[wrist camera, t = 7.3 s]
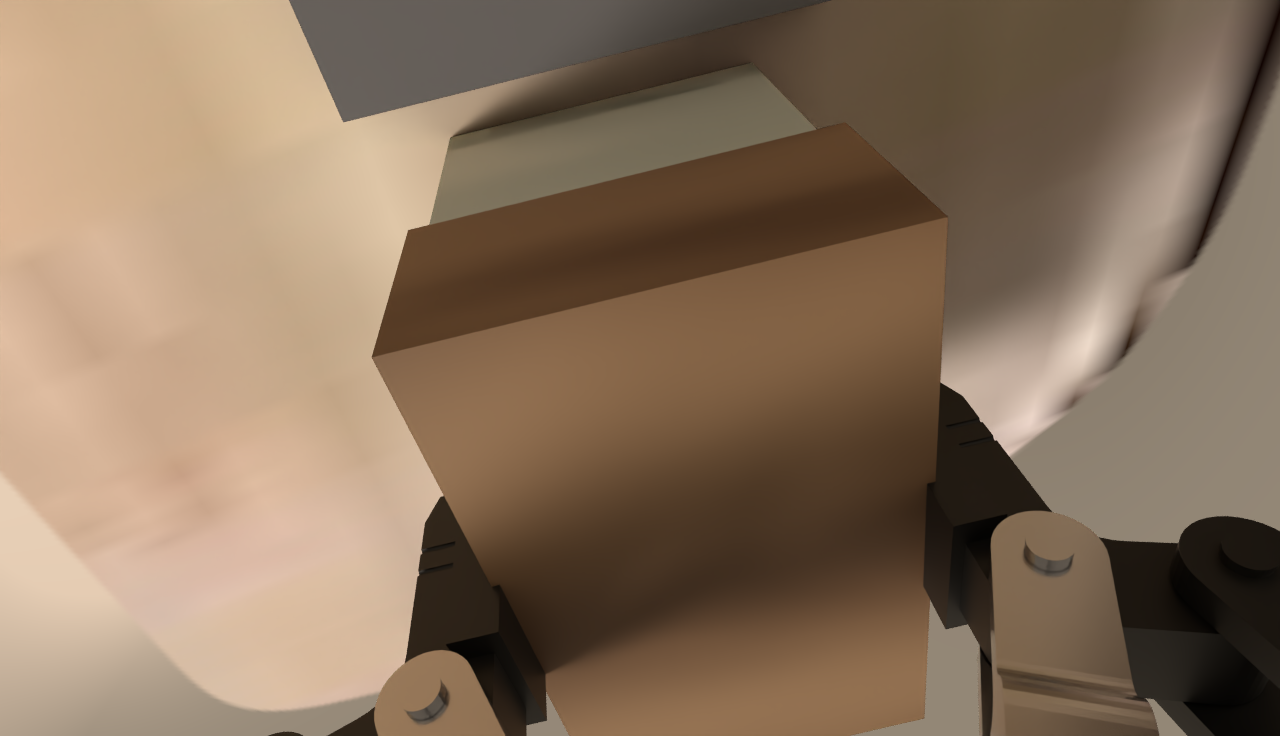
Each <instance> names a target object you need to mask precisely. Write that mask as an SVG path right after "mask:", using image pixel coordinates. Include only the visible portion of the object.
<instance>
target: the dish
mask: <svg viewBox="0 0 1280 736" xmlns="http://www.w3.org/2000/svg"><path fill="white" fill-rule="evenodd" d="M812 130H816V128H815V127H814V126H813V125H812V124H811V123H810V122H809V121H808V120H807V119H806V118H805V117H804V116H803V115H802V114H801V113H800V112H799V111H798V109H797V108H796V107H795V106H794V105H793V104H792V103H791V102H790V101H789V100H788V99H787V98H786V97H785V96H784V95H783V94H782V93H781V92H780V91H779V90H778V89H777V88H776V87H775V86H774V85H773V84H772V83H771V82H770V81H769V80H768V79H767V78H766V77H765V75H764V74H763V73H762V72H761V71H760V70H759V69H758V68H757V67H756V66H755V65H754V64H753V63H748V64H744V65H740V66H736V67H732V68H728V69H724V70H720V71H716V72H712V73H708V74H704V75H700V76H696V77H692V78H688V79H684V80H680V81H676V82H672V83H668V84H664V85H660V86H656V87H652V88H648V89H644V90H640V91H636V92H632V93H628V94H624V95H620V96H616V97H612V98H608V99H604V100H599V101H595V102H591V103H587V104H583V105H579V106H575V107H571V108H567V109H563V110H559V111H555V112H551V113H547V114H543V115H539V116H535V117H531V118H527V119H523V120H519V121H515V122H511V123H507V124H503V125H499V126H495V127H491V128H487V129H483V130H479V131H475V132H471V133H467V134H463V135H459V136H455V137H451V138H450V141H449V145H448V150H447V154H446V158H445V162H444V166H443V170H442V175H441V179H440V183H439V187H438V191H437V195H436V199H435V204H434V208H433V212H432V216H431V220H430V224H429V225H431V224H436V223H440V222H444V221H448V220H452V219H456V218H460V217H464V216H468V215H472V214H476V213H480V212H484V211H488V210H492V209H496V208H500V207H504V206H508V205H513V204H517V203H521V202H525V201H529V200H533V199H537V198H541V197H545V196H549V195H553V194H557V193H561V192H565V191H569V190H573V189H577V188H581V187H585V186H590V185H594V184H598V183H602V182H606V181H610V180H614V179H618V178H622V177H626V176H630V175H634V174H638V173H642V172H646V171H650V170H654V169H658V168H662V167H667V166H671V165H675V164H679V163H683V162H687V161H691V160H695V159H699V158H703V157H707V156H711V155H715V154H719V153H723V152H727V151H731V150H735V149H739V148H744V147H748V146H752V145H756V144H760V143H764V142H768V141H772V140H776V139H780V138H784V137H788V136H792V135H796V134H800V133H804V132H808V131H812Z"/></svg>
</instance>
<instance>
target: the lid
mask: <svg viewBox="0 0 1280 736" xmlns="http://www.w3.org/2000/svg"><path fill="white" fill-rule="evenodd" d="M947 229H948V216H946V215H945V214H944V213H943V212H942V211H941V210H940V209H939V208H938V207H937V206H936V205H934V204H933V203H932V202H931V201H930V200H929V199H928V198H927V197H926V196H925V195H924V194H923V193H921V192H920V191H919V190H918V189H917V188H916V187H915V186H914V185H913V184H912V183H911V182H910V181H908V180H907V179H906V178H905V177H904V176H903V175H902V174H901V173H900V172H899V171H898V170H896V169H895V168H894V167H893V166H892V165H891V164H890V163H889V162H888V161H887V160H886V159H885V158H883V157H882V156H881V155H880V154H879V153H878V152H877V151H876V150H875V149H874V148H873V147H872V146H870V145H869V144H868V143H867V142H866V141H865V140H864V139H863V138H862V137H861V136H860V135H858V134H857V133H856V132H855V131H854V130H853V129H852V128H851V127H850V126H849V125H848V124H847V123H841V124H837V125H833V126H829V127H825V128H821V129H816V130H812V131H808V132H804V133H800V134H796V135H792V136H788V137H784V138H780V139H776V140H772V141H768V142H764V143H760V144H756V145H752V146H748V147H744V148H739V149H735V150H731V151H727V152H723V153H719V154H715V155H711V156H707V157H703V158H699V159H695V160H691V161H687V162H683V163H679V164H675V165H671V166H667V167H662V168H658V169H654V170H650V171H646V172H642V173H638V174H634V175H630V176H626V177H622V178H618V179H614V180H610V181H606V182H602V183H598V184H594V185H590V186H585V187H581V188H577V189H573V190H569V191H565V192H561V193H557V194H553V195H549V196H545V197H541V198H537V199H533V200H529V201H525V202H521V203H517V204H513V205H508V206H504V207H500V208H496V209H492V210H488V211H484V212H480V213H476V214H472V215H468V216H464V217H460V218H456V219H452V220H448V221H444V222H440V223H436V224H431V225H427V226H423V227H419V228H415V229H411V230H408V233H407V236H406V240H405V243H404V247H403V250H402V254H401V257H400V261H399V264H398V268H397V271H396V275H395V278H394V282H393V285H392V289H391V292H390V296H389V299H388V303H387V306H386V309H385V313H384V316H383V320H382V323H381V327H380V330H379V334H378V337H377V341H376V344H375V348H374V351H373V355H372V359H373V361H374V363H375V365H376V367H377V368H378V370H379V372H380V374H381V376H382V378H383V380H384V382H385V384H386V386H387V388H388V389H389V391H390V393H391V395H392V397H393V399H394V401H395V403H396V405H397V407H398V409H399V411H400V412H401V414H402V416H403V418H404V420H405V422H406V424H407V426H408V428H409V430H410V432H411V434H412V435H413V437H414V439H415V441H416V443H417V445H418V447H419V449H420V451H421V453H422V455H423V457H424V458H425V460H426V462H427V464H428V466H429V468H430V470H431V472H432V474H433V476H434V478H435V479H436V481H437V483H438V485H439V487H440V489H441V491H442V493H443V495H444V497H445V499H446V501H447V502H448V504H449V506H450V508H451V510H452V512H453V514H454V516H455V518H456V520H457V522H458V524H459V525H460V527H461V529H462V531H463V533H464V535H465V537H466V539H467V541H468V543H469V545H470V546H471V548H472V550H473V552H474V554H475V556H476V558H477V560H478V562H479V564H480V566H481V568H482V569H483V571H484V573H485V575H486V577H487V579H488V581H489V583H490V585H491V587H492V586H497V585H500V586H501V588H502V590H503V592H504V594H505V596H506V598H507V600H508V602H509V604H510V606H511V608H512V609H513V611H514V613H515V615H516V617H517V619H518V621H519V623H520V625H521V627H522V629H523V631H524V633H525V635H526V637H527V639H528V641H529V643H530V645H531V647H532V649H533V651H534V653H535V655H536V657H537V658H538V660H539V662H540V664H541V666H542V668H543V670H544V672H545V674H546V692H547V694H548V696H549V698H550V700H551V701H552V703H553V705H554V707H555V709H556V711H557V713H558V715H559V717H560V718H561V721H562V723H563V725H564V726H565V728H566V730H567V732H568V734H569V736H850V735H854V734H859V733H863V732H868V731H872V730H876V729H881V728H885V727H889V726H894V725H898V724H902V723H907V722H911V721H915V720H920V719H924V714H925V692H926V671H927V650H928V629H929V608H930V598H929V596H928V594H927V592H926V590H925V589H924V587H923V575H924V549H925V522H926V496H927V483H932V482H936V461H937V440H938V418H939V397H940V376H941V355H942V334H943V313H944V292H945V271H946V250H947Z"/></svg>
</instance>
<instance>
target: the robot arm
mask: <svg viewBox="0 0 1280 736" xmlns="http://www.w3.org/2000/svg"><path fill="white" fill-rule="evenodd" d="M421 550H422V554H421V556H420V563H419V570H418V571H419V576H418V577H417V584H416V591H415V599H414V606H413V613H412V620H411V627H410V634H409V641H408V648H407V655H406V660H405V664H403V665H402V666H401V667H400V668H399V669H398V670H396V671H395V672H394V673H393V675H392V676H391V677H390V678H389V679H388V680H387V682H386V683H385V685H384V686H383V688H382V690H381V692H380V694H379V696H378V699H377V702H376V705H375V707H374V708H373V709H371V710H370V711H369V712H368V713H366V714H365V715H363V716H361V717H360V718H358V719H357V720H355V721H353V722H351V723H350V724H348V725H346V726H344V727H342V728H341V729H339V730H337V731H335V732H333V733H331V734H330V735H328V736H526V725H529V724H534V723H538V722H543V721H547V713H546V712H547V711H546V674H545V672H544V670H543V668H542V666H541V664H540V662H539V660H538V658H537V657H536V655H535V653H534V651H533V649H532V647H531V645H530V643H529V641H528V639H527V637H526V635H525V633H524V631H523V629H522V627H521V625H520V623H519V621H518V619H517V617H516V615H515V613H514V611H513V609H512V608H511V606H510V604H509V602H508V600H507V598H506V596H505V594H504V592H503V590H502V588H501V586H500V585H497V586H492V587H491V585H490V583H489V581H488V579H487V577H486V575H485V573H484V571H483V569H482V568H481V566H480V564H479V562H478V560H477V558H476V556H475V554H474V552H473V550H472V548H471V546H470V545H469V543H468V541H467V539H466V537H465V535H464V533H463V531H462V529H461V527H460V525H459V524H458V522H457V520H456V518H455V516H454V514H453V512H452V510H451V508H450V506H449V504H448V502H447V501H446V499H445V497H444V496H443V497H440V499H439V500H438V502H437V504H436V505H435V507H434V509H433V510H432V512H431V514H430V516H429V517H428V519H427V521H426V522H425V528H424V535H423V542H422V549H421ZM923 587H924V589H925V590H926V592H927V594H928V596H929V598H930V600H931V602H932V604H933V606H934V608H935V609H936V611H937V613H938V615H939V617H940V619H941V621H942V623H943V625H944V627H945V629H949V628H954V627H958V626H962V625H967V624H968V625H969V627H970V629H971V630H972V632H973V634H974V636H975V638H976V639H977V641H978V643H979V646H978V657H977V663H978V699H979V700H978V701H979V735H980V736H1159V731H1158V727H1157V723H1156V719H1155V716H1154V713H1153V710H1152V707H1151V706H1150V704H1149V702H1148V701H1147V700H1146V699H1145V698H1150V699H1154V700H1155V701H1156V702H1157V703H1158V704H1159V705H1160V706H1161V707H1162V708H1163V709H1164V711H1165V712H1166V713H1167V714H1168V715H1169V716H1170V717H1171V718H1172V719H1173V720H1174V721H1175V723H1176V724H1177V725H1178V726H1179V727H1180V728H1181V729H1182V730H1183V731H1184V732H1185V733H1186V735H1187V736H1280V531H1278V530H1276V529H1274V528H1272V527H1270V526H1267V525H1265V524H1263V523H1259V522H1256V521H1253V520H1248V519H1244V518H1238V517H1229V516H1220V517H1219V516H1217V517H1210V518H1205V519H1201V520H1198V521H1196V522H1194V523H1192V524H1191V525H1189V526H1188V527H1187V528H1186V529H1185V530H1184V531H1183V533H1182V534H1181V537H1180V540H1179V543H1155V542H1131V541H1116V540H1110V539H1104V538H1100V537H1098V536H1097V535H1096V534H1095V533H1094V532H1093V531H1092V530H1091V529H1089V528H1088V527H1086V526H1085V525H1084V524H1082V523H1080V522H1078V521H1076V520H1074V519H1072V518H1070V517H1067V516H1065V515H1061V514H1058V513H1054V512H1052V511H1051V510H1050V509H1049V508H1048V507H1047V505H1046V504H1045V503H1044V501H1043V500H1042V499H1041V497H1040V496H1039V495H1038V494H1037V492H1036V491H1035V490H1034V488H1033V487H1032V486H1031V484H1030V483H1029V482H1028V481H1027V479H1026V478H1025V477H1024V475H1023V474H1022V473H1021V472H1020V470H1019V469H1018V468H1017V466H1016V465H1015V464H1014V462H1013V461H1012V460H1011V458H1010V457H1009V456H1008V454H1007V453H1006V452H1005V451H1004V449H1003V448H1002V447H1001V445H1000V444H999V443H998V441H997V440H996V441H995V440H994V438H993V435H992V434H991V432H990V431H989V430H988V428H987V427H986V426H985V425H984V423H983V422H980V420H979V417H978V415H977V414H976V413H975V412H974V410H973V409H972V408H971V406H970V405H969V404H968V402H967V401H966V400H965V398H964V397H963V396H962V395H960V394H959V393H957V392H955V391H954V390H952V389H950V388H949V387H947V386H945V385H944V384H942V383H940V397H939V418H938V440H937V461H936V482H932V483H927V496H926V522H925V549H924V575H923ZM269 736H303V735H301V734H298V733H294V732H280V733H275V734H272V735H269Z"/></svg>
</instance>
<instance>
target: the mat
mask: <svg viewBox="0 0 1280 736" xmlns="http://www.w3.org/2000/svg"><path fill="white" fill-rule="evenodd" d="M289 1H290V4H291V6H292V8H293V10H294V13H295V15H296V17H297V19H298V22H299V24H300V26H301V28H302V30H303V33H304V35H305V37H306V39H307V42H308V44H309V46H310V48H311V51H312V53H313V55H314V57H315V60H316V62H317V64H318V66H319V69H320V71H321V73H322V75H323V78H324V80H325V82H326V84H327V87H328V89H329V91H330V93H331V96H332V98H333V100H334V102H335V105H336V107H337V109H338V111H339V114H340V116H341V118H342V120H343V122H347V121H351V120H355V119H359V118H363V117H367V116H371V115H375V114H379V113H383V112H387V111H391V110H395V109H399V108H403V107H407V106H411V105H415V104H419V103H423V102H427V101H431V100H435V99H439V98H443V97H447V96H451V95H455V94H459V93H463V92H467V91H471V90H475V89H479V88H483V87H487V86H491V85H495V84H499V83H503V82H507V81H510V80H514V79H518V78H522V77H526V76H530V75H534V74H538V73H542V72H546V71H550V70H554V69H558V68H562V67H566V66H570V65H574V64H578V63H582V62H586V61H590V60H594V59H598V58H602V57H606V56H610V55H614V54H618V53H622V52H626V51H630V50H634V49H638V48H642V47H646V46H650V45H654V44H658V43H662V42H666V41H670V40H674V39H678V38H682V37H686V36H690V35H694V34H698V33H702V32H706V31H710V30H714V29H718V28H722V27H726V26H730V25H734V24H738V23H742V22H746V21H750V20H754V19H758V18H762V17H766V16H770V15H774V14H778V13H782V12H786V11H790V10H794V9H798V8H802V7H806V6H810V5H814V4H818V3H822V2H826V1H830V0H289Z"/></svg>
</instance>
